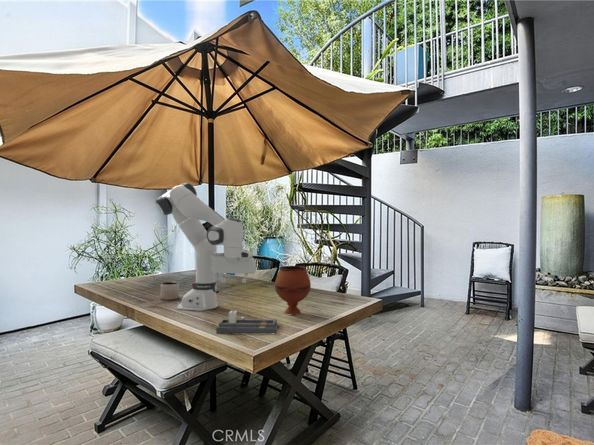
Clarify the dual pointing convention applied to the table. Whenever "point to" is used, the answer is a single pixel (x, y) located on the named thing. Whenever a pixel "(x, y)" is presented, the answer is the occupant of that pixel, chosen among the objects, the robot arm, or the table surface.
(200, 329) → the table surface
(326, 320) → the table surface
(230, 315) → the fader cap
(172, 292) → the planter
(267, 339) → the table surface
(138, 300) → the table surface
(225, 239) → the robot arm
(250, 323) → the console
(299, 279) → the terracotta clay pot
